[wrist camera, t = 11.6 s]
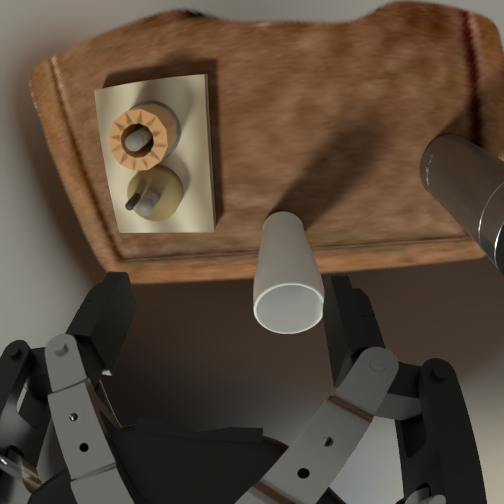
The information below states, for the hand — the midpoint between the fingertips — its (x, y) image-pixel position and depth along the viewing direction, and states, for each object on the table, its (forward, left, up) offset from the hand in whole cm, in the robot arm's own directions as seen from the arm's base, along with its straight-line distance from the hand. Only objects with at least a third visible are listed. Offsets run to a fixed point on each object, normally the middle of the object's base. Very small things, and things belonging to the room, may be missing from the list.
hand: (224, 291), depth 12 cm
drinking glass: (-4, +12, -26) cm, 29 cm away
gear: (+11, -2, -24) cm, 26 cm away
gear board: (+11, +2, -26) cm, 28 cm away
